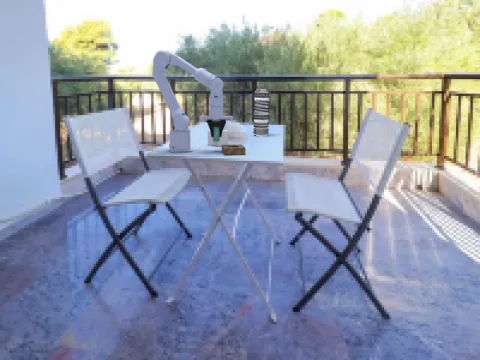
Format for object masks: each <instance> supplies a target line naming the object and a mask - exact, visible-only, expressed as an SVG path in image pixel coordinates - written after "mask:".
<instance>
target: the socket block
mask: <svg viewBox="0 0 480 360" xmlns="http://www.w3.org/2000/svg"><path fill="white" fill-rule="evenodd" d="M246 152H247V151H246V147H245V146H244V145H243V144H242V143H241V144H239V143H238V144H228V145H222V146H221V153H222V154H223V155H224V156H245V155H246Z"/></svg>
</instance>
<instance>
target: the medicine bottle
mask: <svg viewBox="0 0 480 360" xmlns="http://www.w3.org/2000/svg"><path fill="white" fill-rule="evenodd" d="M213 127H219V121H213ZM207 145H208V146H213V147H222V145H229V130H227V129H225V128H224V129H223V132H222V136H221V137H220V141H218V142H215V141H213V137H211V132H210V129H208V130H207Z"/></svg>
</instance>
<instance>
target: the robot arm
mask: <svg viewBox="0 0 480 360" xmlns="http://www.w3.org/2000/svg"><path fill="white" fill-rule="evenodd" d="M169 66H177V67H179V68H181V69H183V70H185V71H186V72H187V73H190V74H191V75H193V78H194V80H195V81H197V82H198V83H200V84H201V85H203V86H205V87H206V88H209V89H210V94H209V115H199V122H204V121H205V122H206V123H207V125H208V128H209V129H208V130H210V132H211V137H213V121H219V128H220V137H221V136H222V132H223V129H224V130H225V126H226V124H227V122H229V121H231V122H233V121H234V116H233V115H224V96H223V94H224V92H223V88H224V82H223V80H222V79H221V78H220V77H217V75H215V74H213V73H211V72H209V71H208V69H207V68H205V67H204V68H203V67H199V68H197V67H195V66H194V65H192V64H191V63H189V62H188V61H186V60H185V59H184V58H182V57H180V56H179V55H178V54H177V55H176V54H175V53H171V52H169V50H162V49H161V50H158V51H156V52H155V54H154V56H153V59H152V73H151V74H152V77H153V79H154V82H155V83H156V85H157V87H158V90H159V91H160V93H161V96H162V98H163V99H164V100H163V101H165V103H166V105H167V108H168V109H169V111H170V115H171V118H172V121H173V127H174V129H173V130H169V131H168V132H169V135H168V137H169V143H168V148H169V150H170V151H169V152H170V153H181V152H182V153H185V152H193V149H192V148H191V129H190V127H189V126H190V124H191V119H190V117H189V116H188V115H186V113H185V112H184V110H183V108H182V107H181V105H180V103H179V100H178V99H177V97H176V94H175V93H174V91H173V89H172V87H171V85H170V82H169V81H168V79H167V77H166V72H167V70H168V68H169Z"/></svg>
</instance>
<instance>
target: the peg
mask: <svg viewBox="0 0 480 360" xmlns="http://www.w3.org/2000/svg"><path fill="white" fill-rule="evenodd" d="M213 141H215V142H218V141H220V128H219V127H213Z"/></svg>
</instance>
